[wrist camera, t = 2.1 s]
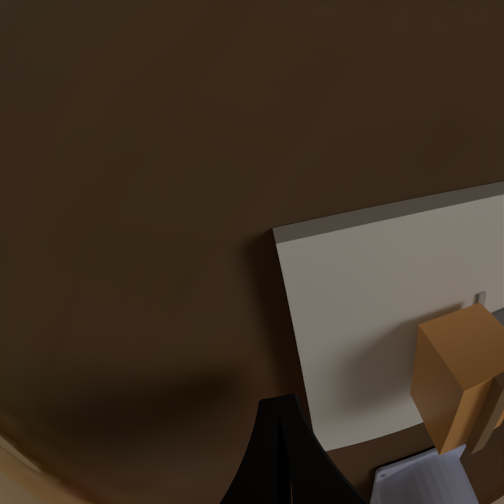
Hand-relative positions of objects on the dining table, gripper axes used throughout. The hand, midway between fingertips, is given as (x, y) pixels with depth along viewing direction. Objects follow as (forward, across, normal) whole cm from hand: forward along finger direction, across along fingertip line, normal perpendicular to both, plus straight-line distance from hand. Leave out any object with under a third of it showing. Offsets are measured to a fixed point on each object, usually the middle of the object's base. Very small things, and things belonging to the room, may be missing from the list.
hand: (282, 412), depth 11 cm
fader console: (+3, -15, 0) cm, 15 cm away
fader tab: (+1, -7, 0) cm, 7 cm away
